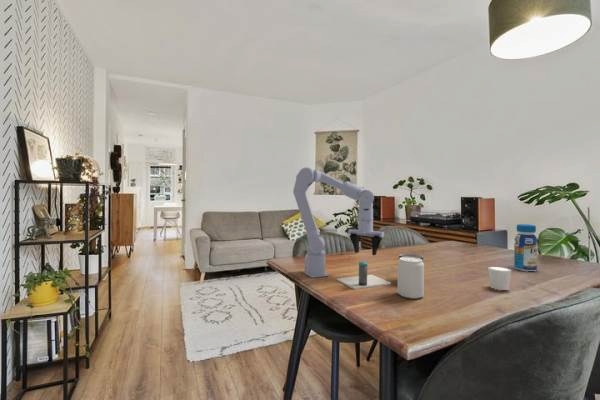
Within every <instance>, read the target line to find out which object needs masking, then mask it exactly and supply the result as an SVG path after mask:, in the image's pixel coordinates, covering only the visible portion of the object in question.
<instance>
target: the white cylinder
mask: <svg viewBox="0 0 600 400" xmlns="http://www.w3.org/2000/svg"><path fill="white" fill-rule="evenodd" d="M487 269H488V279H489V280H488V281H489V288H490V287H491V288H490V289H492V288H494V289H493V290H496V289H498V290H497V291H501V290H507V291H509V290H510V284H511V275H512V269H510V268H507V267H503V266H502V267H501V266H488V267H487Z"/></svg>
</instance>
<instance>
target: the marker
mask: <svg viewBox="0 0 600 400" xmlns="http://www.w3.org/2000/svg"><path fill="white" fill-rule="evenodd" d="M368 263H369V262H367V261H359V262H358V276H359V285H361V286H366V285H367V275H368V266H369V265H368Z"/></svg>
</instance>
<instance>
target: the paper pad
mask: <svg viewBox="0 0 600 400" xmlns="http://www.w3.org/2000/svg"><path fill="white" fill-rule="evenodd" d="M336 280H337V282H339V283H341V284H343V285H345V286H347V287H349V288H351V289H353V290H360V289H367V288H375V287H381V286H387V285H388V286H389V285H392V282H391V281H388V280H386V279H384V278H381V277H378V276H376V275H374V274H367V285H366V286H361V285H359V275H357V276H356V275H355V276H350V277H349V276H348V277H341V278H336Z"/></svg>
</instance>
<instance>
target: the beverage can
mask: <svg viewBox="0 0 600 400" xmlns="http://www.w3.org/2000/svg"><path fill="white" fill-rule="evenodd" d="M424 285H425V263H424V261H423V262H422V259H420V258H415V257H401V258H399V257H398V261H397V294H398V295H400V296H401V297H403V298H407V299H413V300H414V299H415V300H416V299H420V298H422V297H424V295H425V294H424V293H425V291H424V290H425V286H424Z"/></svg>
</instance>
